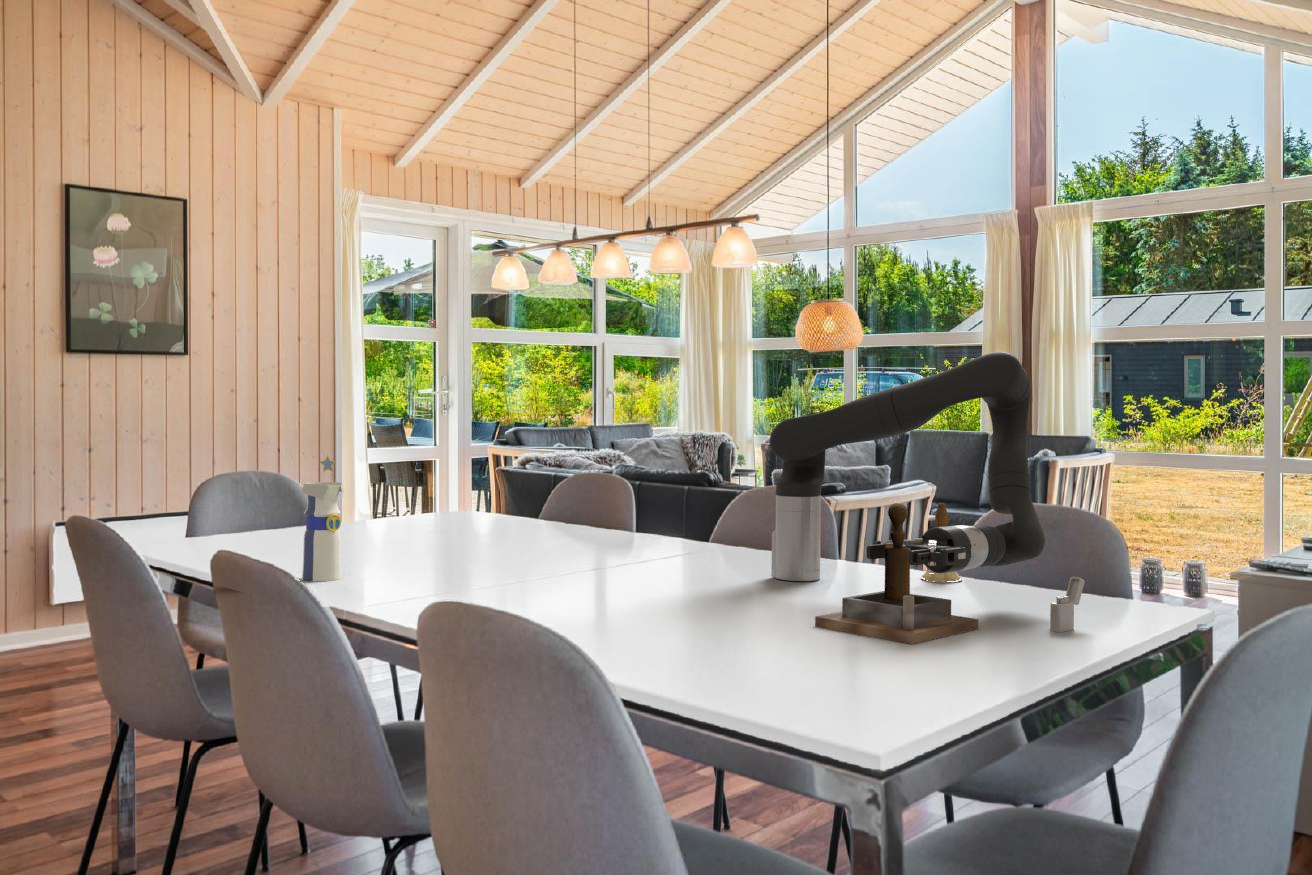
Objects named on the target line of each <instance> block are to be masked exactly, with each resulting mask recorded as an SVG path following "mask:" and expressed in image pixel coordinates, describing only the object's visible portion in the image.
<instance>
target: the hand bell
mask: <svg viewBox="0 0 1312 875" xmlns="http://www.w3.org/2000/svg"><path fill="white" fill-rule="evenodd" d="M934 520H935V527H945V526H948V524H949V514H948V510H947V507H946V504H945V503H944V502H939V503H938V504H937V508H936V511H935V516H934ZM929 573H934V574H929ZM921 577H923V578H925V580H928V581H935V582H947V581H956V580H959V579H960V578H961V579H962V577H961V576H960V575H959V574H958V571H956V572H948V573H935V572H933V571H931V570H929V569H928V568H927V569H926V571H925V572H924V573H923V575H922V576H921Z"/></svg>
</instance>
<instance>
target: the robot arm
mask: <svg viewBox="0 0 1312 875" xmlns="http://www.w3.org/2000/svg"><path fill="white" fill-rule="evenodd" d="M1031 384H1032V383H1031V379H1030V376H1029V374H1028V372H1027V371H1026V370H1025V367H1024V366H1023V365H1022V363H1021V362H1020V361H1019V359H1018V358H1017V357H1016V356H1015V355H1013V353H1010V352H1006V351H994V352H988V353H985V354H983V355H979V356H978V357H975V358H973V359H970V360H968V361H966V362H963V363H961V364H959V365H957V366H954V367H952V368H950V369H946V370H944V371H941V372H938V373H935V374H932V375H929V376H925V377H922V378H920V379H917V380H914V381H910V382H907V383H903V384H899V385H896V386H892V387H889V388H886V389H882V390H880V391H876V392H873V393H871V394H868V395H865V396H862V397H860V398H857V399H854V400H852V401H849V402H846V403H844V404H842V405H840V406H838V407H834V408H831V409H828V410H826V411H821V412H817V413H813V414H807V415H803V416H802V415H801V416H797V417H795V416H794V417H789V418H785V419H783V420H781V421H780V422H779V423H778V424H777V425H776V426H775V427H774V428H773V429H772V431H771V434H770V437H769V447H770V449H771V451H772V452H773V454H774V455H775V456H776V457H777V458H778V459H780V460H782V471H781V474H780V477H779V478H778V480H777V481H776V484H775V530H773V531H772V532H771V575H770V576H771V577H772V578H775V579H777V580H781V581H782V580H783V581H789V582H812V581H818V580H820V579H821V536H822V535H821V532H822V531H821V526H822V525H821V519H822V515H821V513H822V509H821V508H822V500H821V499H822V496H821V495H822V486H823V483H824V481H825V480H824V479H825V470H826V469H825V467H826V450H828V449H832V448H835V447H838V446H841V445H849V444H855V443H864V442H870V441H877V440H882V439H887V438H891V437H895V436H898V435H901V434H904V433H909V432H911V431H914V430H917V429H919V428H920V427H922V426H924V425H926V424H927V423H928V422H930V421H931V420H933V419H934V418H935V417H936V416H937V415H939V414H940V413H941V412H942V411H944V410H946V409H947V408H949V407H953V406H954V405H958V404H960V403H965V402H967V401H972V400H977V399H982V400H983V402H985V403H986V404H987V407H988V411H989V416H990V421H991V425H992V443H991V449H990V453H989V458H988V470H987V473H988V476H987V477H988V478H987V479H988V480H987V481H988V493H989V494H988V496H989V505H990V507H991V509H992V510H993V511H994V512H997V513H998V514H1002V515H1003V514H1004V515H1012V521H1009V522H1006V523H1002V524H998V525H994V526H993V525H992V526H991V525H989V524H988V525H986V524H978V525H963V524H962V525H960V524H958V525H949V526H945V527H936V526H935V527H931V528H929V529H928V530H926V531H925V532H923V535H922V536H921V537H920V538H919V537H916V538H912V539H904V542H903V545H902V546H904V547H909V548H910V552H909V564H910V566H921V565H922V566H923V565H924V566H925V567H926V568H927V569H929V570H931V571H933V572H935V573H948V572H962V571H967V570H972V569H975V568H981V567H1002V566H1006V565H1013V564H1016V563H1021V562H1025V561H1029V560H1032V559H1033V560H1034V559H1035V558H1037V557H1039V556H1040V555H1041V553H1042V552H1043V551H1044V547H1045V544H1046V537H1045V533H1044V530H1043V527H1042V525H1041V523H1040V521H1039V517H1038V515H1037V512H1036V509H1035V506H1034V503H1033V500H1032V493H1031V480H1030V469H1029V455H1028V436H1027V435H1028V420H1029V419H1028V417H1029V408H1030V400H1031V389H1032V385H1031ZM886 546H893V542H892V539H888V540H877V541H874V544H869V545H867V546H866V559H868V560H878V559H880V560H881V559H883V560H885V547H886Z"/></svg>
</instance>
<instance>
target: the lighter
mask: <svg viewBox="0 0 1312 875" xmlns="http://www.w3.org/2000/svg"><path fill="white" fill-rule="evenodd" d="M1085 582H1086V581H1085V580H1084V579H1083V578H1081V577H1078V576H1070V579H1069V581H1068V585H1067V586H1068V587H1067V588H1066V589H1067V590H1066V593H1065V595H1060V596H1056V601H1055V602H1050V605H1049V606H1050V610H1049V611H1050V612H1049V618H1050V623H1049V624H1050V626H1049V627H1050V628H1049V630H1050V632H1054V633H1056V632H1057V633H1063V632H1068V631H1073V630H1074V628H1075V622H1074V620H1075V605H1076V606H1078V605H1079V604H1080V600H1081V598H1082V594H1083V590H1084V586H1085Z"/></svg>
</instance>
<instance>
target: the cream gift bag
mask: <svg viewBox="0 0 1312 875" xmlns="http://www.w3.org/2000/svg"><path fill="white" fill-rule="evenodd" d="M336 462H337V461H335V460H331V459H330V457H329V455H327V456H326V458H325V459H324V460H320V461H319V464H321V465H323V469H322V472H323V473H324V472H327V471H331V472H333V473H334V468H333V465H335V464H336ZM301 493H302V494H304V495H306V498H307V506H306V509H305V511H304V512H303V513H304V515H305V516H306V517H305V518H306V519H305V520H306V522H305V525H306V526H305V528H306V529H305V531H304V534H303V551H302V554H303V557H302V558H303V560H302V571H301V572H302V575H301V576H302V577H301V580H302V581H305V582H329V581H330V582H331V581H337V580H341V579H342V578H343V575H342V574H343V572H342V552H341V551H342V547H341V546H342V544H341V543H342V539H341V538H342V536H341V531H340V528H341V525H342V520H341V519H342V518H340V516H339V515H340V514H341V511H340V509H339V506H338V497H339V493H341V496H340V500H342V499H343V497H344V484H343V482H338V481H315V482H314V481H312V482H304V483H303V486H302V488H301Z"/></svg>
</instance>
